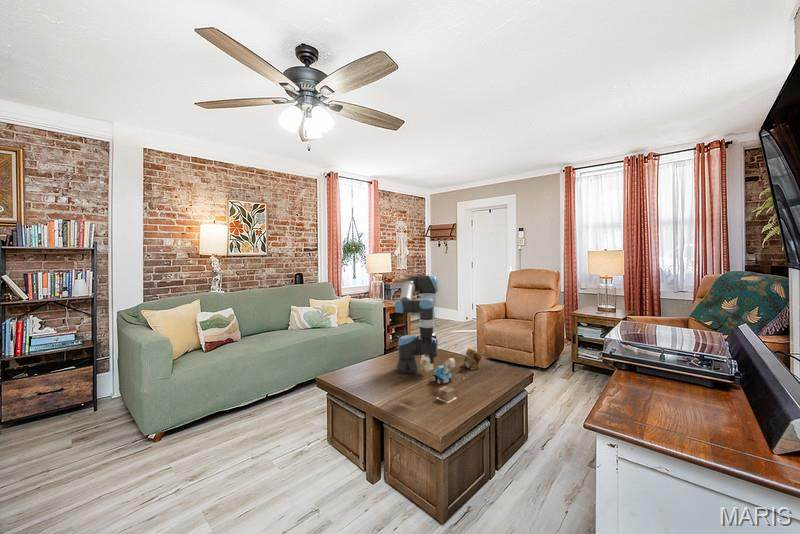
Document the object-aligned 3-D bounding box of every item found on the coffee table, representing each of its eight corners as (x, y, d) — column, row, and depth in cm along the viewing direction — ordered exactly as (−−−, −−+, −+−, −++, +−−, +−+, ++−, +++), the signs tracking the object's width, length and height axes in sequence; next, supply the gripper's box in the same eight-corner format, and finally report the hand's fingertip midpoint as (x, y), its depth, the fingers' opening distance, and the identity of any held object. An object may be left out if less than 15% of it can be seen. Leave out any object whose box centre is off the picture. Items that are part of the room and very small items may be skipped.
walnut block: (438, 398, 179) (438, 389, 179) (445, 394, 183) (445, 385, 183) (447, 401, 175) (447, 392, 174) (454, 397, 179) (454, 388, 179)
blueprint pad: (426, 397, 182) (426, 395, 182) (441, 389, 192) (441, 387, 192) (450, 406, 171) (450, 404, 171) (465, 397, 181) (465, 396, 181)
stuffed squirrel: (459, 367, 229) (459, 348, 229) (474, 363, 237) (473, 344, 236) (470, 371, 221) (470, 351, 220) (484, 367, 229) (484, 348, 228)
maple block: (420, 369, 185) (420, 358, 185) (426, 367, 188) (426, 356, 188) (427, 371, 181) (426, 360, 181) (433, 369, 185) (433, 358, 185)
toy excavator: (446, 390, 191) (446, 361, 191) (431, 380, 206) (430, 353, 205) (458, 387, 195) (458, 358, 195) (442, 377, 210) (442, 351, 209)
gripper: (410, 325, 188) (410, 365, 189) (434, 330, 175) (434, 373, 176) (419, 323, 193) (419, 362, 194) (443, 327, 180) (443, 370, 181)
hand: (426, 367), depth 185 cm, fingers closed on maple block, 5 cm apart
